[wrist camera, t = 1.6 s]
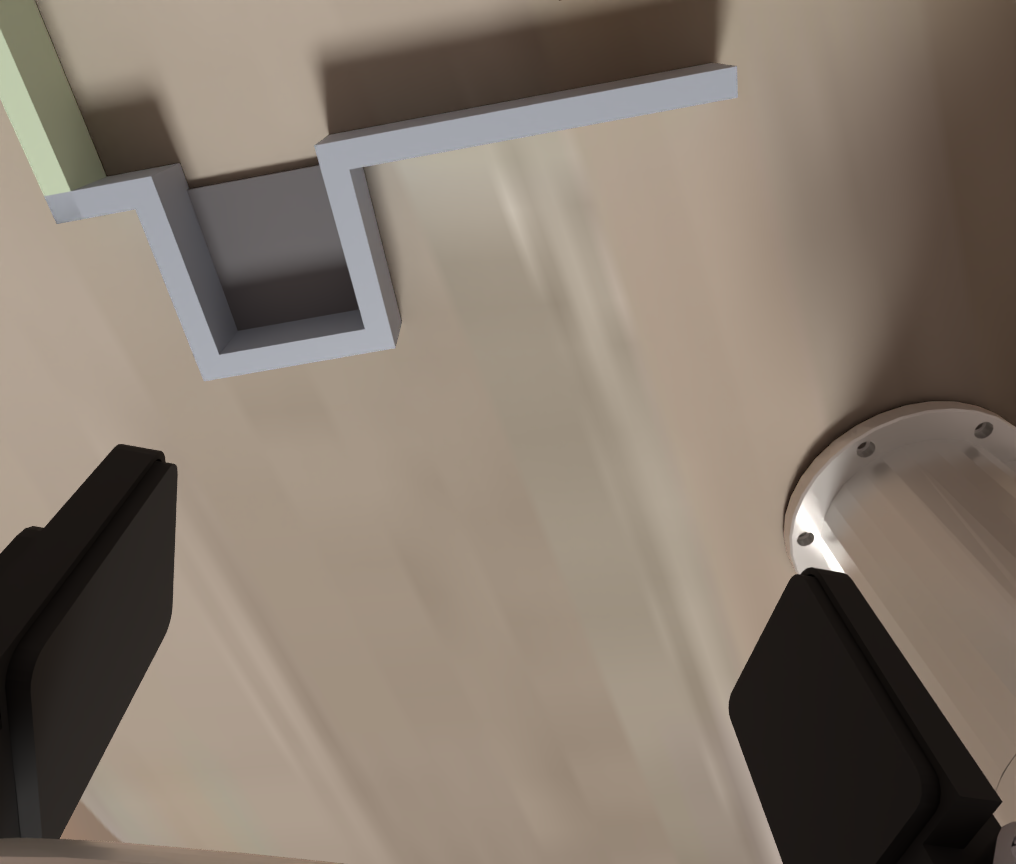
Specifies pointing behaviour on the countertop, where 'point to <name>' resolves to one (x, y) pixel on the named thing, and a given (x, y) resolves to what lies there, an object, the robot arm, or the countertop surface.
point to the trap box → (283, 205)
